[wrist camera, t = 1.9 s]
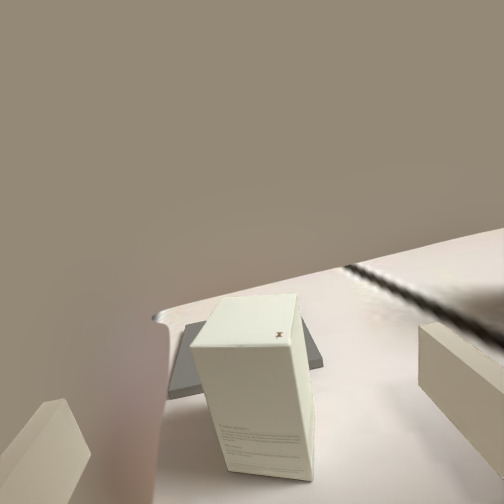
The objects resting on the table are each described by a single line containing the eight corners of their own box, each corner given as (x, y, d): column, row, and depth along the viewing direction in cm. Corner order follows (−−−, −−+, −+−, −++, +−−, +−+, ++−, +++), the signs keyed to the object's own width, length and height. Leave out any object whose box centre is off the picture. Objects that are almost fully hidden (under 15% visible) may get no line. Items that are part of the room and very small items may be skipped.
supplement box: (316, 403, 28) (300, 290, 24) (314, 485, 21) (291, 345, 17) (246, 399, 30) (221, 294, 26) (224, 472, 23) (185, 345, 19)
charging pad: (295, 308, 45) (294, 301, 45) (323, 366, 32) (322, 357, 32) (187, 331, 45) (185, 324, 45) (171, 399, 32) (167, 390, 31)
